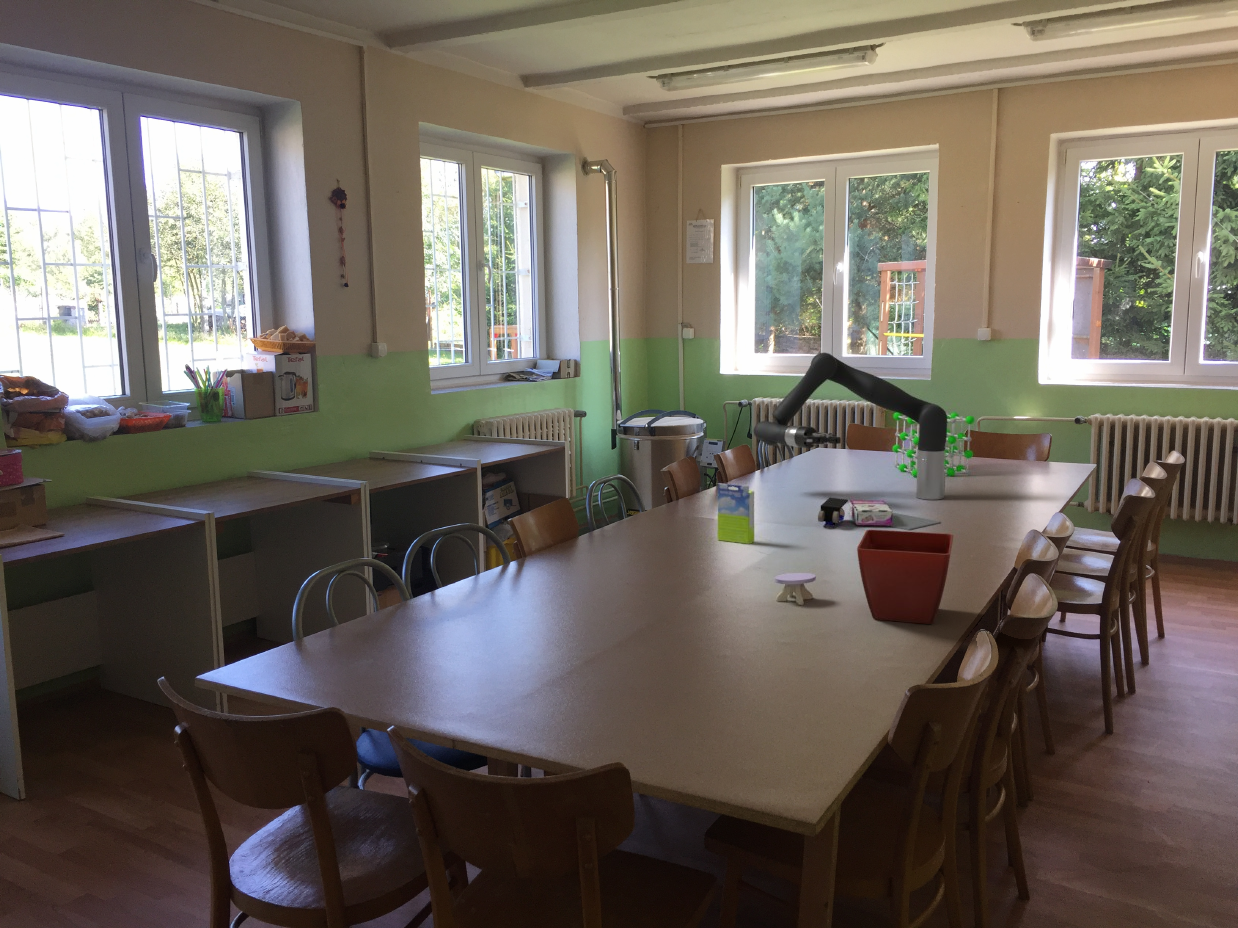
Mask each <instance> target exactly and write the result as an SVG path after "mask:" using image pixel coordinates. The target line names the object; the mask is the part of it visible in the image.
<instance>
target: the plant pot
mask: <svg viewBox="0 0 1238 928" xmlns="http://www.w3.org/2000/svg"><path fill="white" fill-rule="evenodd" d="M953 542H954V534H952V533H951V534H950V533H940V532H939V533H937V532H923V531H908V530H906V531H904V530H903V531H902V530H889V529H888V530H886V529H883V530H882V529H866V530H865V532H864V534H863V536H862V539H860V542H859V543H858V546H857V548H856V550H857V559H858V560H857V561H858V567H859V573H860V577H861V582H862V586H863V590H864V595H865V598H866V601H867V604H868V608H869V611H870V615H871V617H872V619H874V620H878V621H879V620H880V621H892V622H902V623H914V624H915V623H916V624H927V625H930V624H934V622H935V619H936V617H937V614H938V612H939V608H940V604H941V601H942V598H943V594H944V591H945V585H946V581H947V577H948V572H949V571H948V570H949V565H950V561H951V560H950V558H951V553H952V546H953Z"/></svg>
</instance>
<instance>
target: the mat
mask: <svg viewBox="0 0 1238 928" xmlns="http://www.w3.org/2000/svg"><path fill="white" fill-rule="evenodd" d="M941 523H942V522H941V521H939V520H934V519H930V518H929V519H928V518H923V517H919V516H913V515H909V514H904V513H903V514H902V513H898V512H893V515H892V525H885V526H886V527H891V528H896V529H901V530H906V531H912V530H915V529H920V528H924V527H925V528H926V527H928V526H933V525H938V524H941Z"/></svg>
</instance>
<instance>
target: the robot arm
mask: <svg viewBox="0 0 1238 928" xmlns="http://www.w3.org/2000/svg"><path fill="white" fill-rule="evenodd" d="M826 381H831V382H833V383H836V384H838V385H840V386H843V387H844V388H847V389H848V390H849V391H850V392H851V393H853V394H854V395H857V396H858V397H860V398H861V399H862V400H865V401H867V402H869V403H870V404H873V405H874V406H878V407H879V408H881V409H885V410H889V411H892V412H894V413H896V412H898V413H901V414H902V416H904V415H905V416H907V417H909V418H910V419H912V420H914V421H915V423H916V422H917V423H918V424H919V441H918V459H917V477H916V492H915V493H916V494H915V495H916V496H915V497H916V498H917V499H921V500H930V501H931V500H942V499H944V498H945V495H946V475H947V473H946V472H945V470H944V465H945V444H946V445H947V442H946V437H948V436H947V429H948V423H947V414H946V413H947V412H946V410H944V408H943V407H941V406H940V405H939V404H935V403H932V402H929V401H926V400H923V399H921V398H918V397H915V396H913V395H911V394H909V393H908V392H906V391H905V390H903V389H901V388H900V387H898V386H896V385H895V384H893V383H891V382H889V381H887V380H885V379H883V378H881V377H879V376H877V375H874V374H871V373H870V372H866V371H863V370H860V369H857V368H854V367H853V366H850V365H849V364H846V363H844V362H843V361H841V360H840V359H838V358H837V357H835V356H834V355H833V354H831V353H828V352H819V353H817V354H816V355H814V356H813V358H812V359H811V362H810V365H809V367H808V369H807V370H806V372H805V374H804V376H803V377H802V378H801V379H800V380H799V382H798V383H797V384H796V385H795V386H794V387H793V388H792V390H791V391H790V392H788V394H787V395H786V396H784V398H783V399H782V400H781V401H780V403H779V404H777V406H776V407H775V408H774V409H773V411H772V417H773V418H774V420H775V421H774V422H773V421H768V420H762V421H758V422H757V423H756V424H755V426H754V427H753V435H754V437H755V438H756V439H758V440H759V441H761V442H763V443H764V444H765V445H767V446H769V447H770V446H772V447H773V446H775V445H776V444H777V445H778V444H780V445H783V446H790V447H795V448H801V449H802V448H803V449H812V448H814V447H816V445H828V444H836V445H839V444H841V442H842V441H841V440H842V439H841V437H840V436H835V434H834V433H833V432H832V433H831V432H829V433H825V432H821V431H817V430H816V428H815V427H813V426H806V425H805V426H804V425H789V424H790V422H791V421H792V420H793V418H794V417H795V416H796V414H798V413H799V411H800V410H801V409H802V407H803V406H804V405H805V404H806V402H807V401H808V400H809V399H810V397H811V396H812V395H813V394H814V393H815V392H816V390H818V388H820V386H822V384H824V383H825V382H826ZM917 423H916V424H917ZM918 424H917V425H918Z"/></svg>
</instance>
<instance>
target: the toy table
mask: <svg viewBox="0 0 1238 928" xmlns="http://www.w3.org/2000/svg"><path fill="white" fill-rule="evenodd" d="M816 580H817V576H816V574H814V573H809V572H787V573H783V574H778V575H776V576H775V577H774V583H777V584H780V585H784V587H783V589H782V590H781V591H780V592H779V593H778V594H777V595H776V597H775V601H776V602H785V601H786V602H787V601H788V598H793V596H794V595H795V603H797V605H799V606H803V605H804V600H810V599H814V598H813V597H814V595H813V593H811V591H810V590H808V589H807V588H806V586H805V584H809V583H813V582H816ZM793 594H794V595H793Z"/></svg>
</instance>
